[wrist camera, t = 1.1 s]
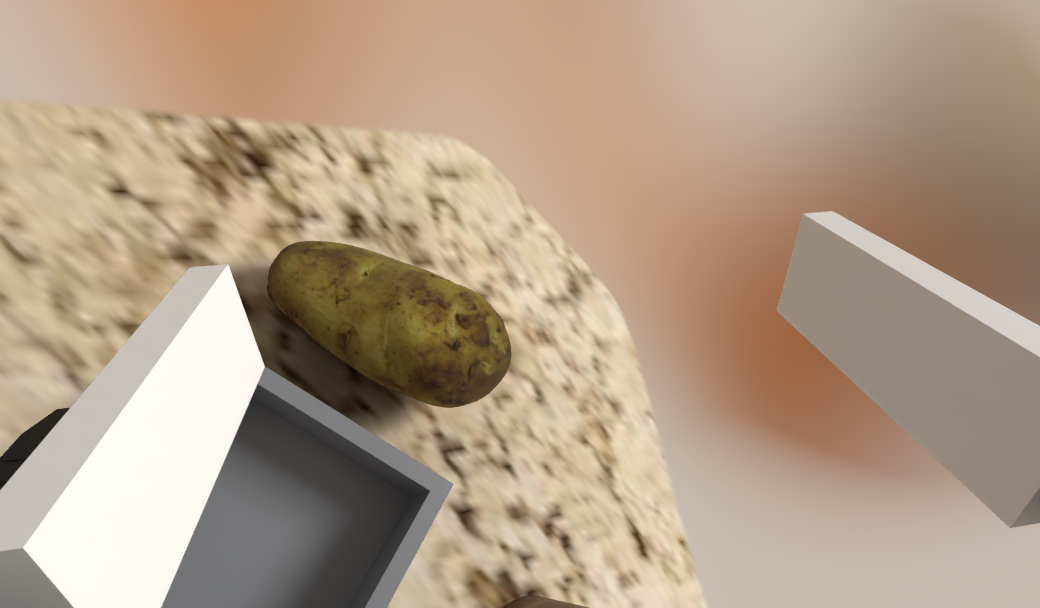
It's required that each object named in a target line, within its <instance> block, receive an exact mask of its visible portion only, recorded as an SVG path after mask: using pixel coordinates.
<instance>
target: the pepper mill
mask: <svg viewBox="0 0 1040 608" xmlns="http://www.w3.org/2000/svg"><path fill="white" fill-rule="evenodd" d="M505 608H588V607H584V606H579V605H575V604H571V603H566V602H562V601H557V600H553V599H548V598H544V597H539V596H524V597H521V598H518V599H516V600H514V601H512V602H511V603H509V604H508V605H507V606H506V607H505Z"/></svg>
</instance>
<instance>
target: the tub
mask: <svg viewBox="0 0 1040 608" xmlns="http://www.w3.org/2000/svg"><path fill="white" fill-rule="evenodd" d="M452 486H453V483H451V482H449V481H448V480H446V479H445V478H443V477H441V476H440V475H438V474H437V473H435V472H433V471H432V470H430V469H429V468H427V467H425V466H424V465H422V464H421V463H419V462H417V461H416V460H414V459H413V458H411V457H409V456H408V455H406V454H405V453H403V452H401V451H400V450H398V449H397V448H395V447H393V446H392V445H390V444H389V443H387V442H385V441H384V440H382V439H381V438H379V437H377V436H376V435H374V434H373V433H371V432H369V431H368V430H366V429H365V428H363V427H361V426H360V425H358V424H357V423H355V422H353V421H352V420H350V419H349V418H347V417H345V416H344V415H342V414H341V413H339V412H337V411H336V410H334V409H333V408H331V407H329V406H328V405H326V404H325V403H323V402H321V401H320V400H318V399H317V398H315V397H313V396H312V395H310V394H309V393H307V392H305V391H304V390H302V389H301V388H299V387H297V386H296V385H294V384H293V383H291V382H289V381H288V380H286V379H285V378H283V377H282V376H280V375H278V374H277V373H275V372H274V371H272V370H270V369H269V368H267V367H266V366H265V368H264V370H263V372H262V375H261V377H260V379H259V381H258V384H257V386H256V388H255V391H254V393H253V395H252V398H251V400H250V402H249V405H248V407H247V409H246V412H245V414H244V416H243V419H242V421H241V423H240V426H239V428H238V430H237V433H236V435H235V437H234V440H233V442H232V444H231V447H230V449H229V451H228V453H227V456H226V458H225V460H224V463H223V465H222V467H221V470H220V472H219V474H218V477H217V479H216V481H215V484H214V486H213V488H212V491H211V493H210V495H209V498H208V500H207V502H206V505H205V507H204V509H203V512H202V514H201V516H200V518H199V521H198V523H197V525H196V528H195V530H194V532H193V535H192V537H191V539H190V542H189V544H188V546H187V549H186V551H185V553H184V556H183V558H182V560H181V563H180V565H179V567H178V570H177V572H176V574H175V577H174V579H173V581H172V583H171V586H170V588H169V590H168V593H167V595H166V597H165V600H164V602H163V604H162V607H161V608H387V606H388V604H389V603H390V601H391V599H392V597H393V595H394V593H395V591H396V590H397V588H398V586H399V584H400V582H401V580H402V579H403V577H404V575H405V573H406V571H407V569H408V567H409V566H410V564H411V562H412V560H413V558H414V556H415V554H416V553H417V551H418V549H419V547H420V545H421V543H422V541H423V540H424V538H425V536H426V534H427V532H428V530H429V528H430V527H431V525H432V523H433V521H434V519H435V517H436V516H437V514H438V512H439V510H440V508H441V506H442V504H443V503H444V501H445V499H446V497H447V495H448V493H449V491H450V490H451V488H452Z"/></svg>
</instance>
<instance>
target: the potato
mask: <svg viewBox="0 0 1040 608" xmlns="http://www.w3.org/2000/svg"><path fill="white" fill-rule="evenodd" d="M267 291H268V295H269V297H270V299H271V300H272V301H273V302H274V303H275V304H276V306H277V307H278V308H279V309H280V310H281V311H282V313H283V314H284V315H285V316H287V317H289V320H290V321H293V322H294V323H295V324H296V325H298V326H300V327H301V328H303V329H304V330H305V331H306V332H307V333H308V336H309V338H310V339H311V340H312V341H313V342H315V343H316V344H318V345H319V346H320V347H321V348H322V349H324V350H327V351H328V352H331V353H332V354H334V355H335V356H336V357H338V358H339V359H340V360H342V361H343V362H345V363H346V364H347V365H348V366H351V367H353V368H354V369H356V370H357V371H359V372H360V373H362V374H363V375H365V376H367V377H368V378H370V379H371V380H373V381H375V382H377V383H379V384H381V385H383V386H385V387H387V388H390V389H393V390H396V391H398V392H401V393H403V394H405V395H408V396H410V397H412V398H414V399H417V400H419V401H422V402H424V403H427V404H430V405H434V406H439V407H447V408H453V407H459V406H463V405H466V404H470V403H472V402H475V401H478V400H479V399H481V398H483V397H484V396H486V395H488V394H489V393H490V392H491V391H492V390H493V389H494V388H495V387H496V386H497V385H498V384H499V382H500V381H501V380H502V379H503V377H504V376H505V374H506V373H507V370H508V368H509V365H510V361H511V345H510V341H509V337H508V334H507V331H506V329H505V326H504V323H503V320H502V319H501V317H500V316H499V314H498V313H497V312H496V311H495V310H494V309H493V308H492V306H491V305H490V304H489V303H488V302H487V301H486V300H485V299H484V298H483V297H481V296H480V295H479V294H477V293H476V292H474V291H472V290H470V289H468V288H466V287H463V286H461V285H457V284H455V283H453V282H451V281H450V280H447V279H445V278H443V277H441V276H438V275H436V274H434V273H432V272H429V271H427V270H424V269H421V268H418V267H415V266H412V265H409V264H406V263H403V262H400V261H398V260H395V259H393V258H390V257H387V256H384V255H382V254H379V253H376V252H373V251H369V250H366V249H363V248H359V247H355V246H351V245H346V244H341V243H334V242H323V241H304V242H298V243H294V244H291V245H289V246H287V247H286V248H284V249H283V250H282V251H281V252H280V253H279V254H278V256H277V257H276V259H275V260H274V262H273V263H272V265H271V267H270V270H269V275H268V285H267Z"/></svg>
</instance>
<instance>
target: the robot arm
mask: <svg viewBox="0 0 1040 608" xmlns="http://www.w3.org/2000/svg"><path fill="white" fill-rule="evenodd" d="M777 312H779V313H780V314H781V315H782V316H783V317H784V318H785V319H786V320H787V321H788V322H789V323H790V324H791V325H792V326H794V327H795V328H796V329H797V330H798V331H799V332H800V333H801V334H802V335H803V336H804V337H805V338H806V339H808V340H809V341H810V342H811V343H812V344H813V345H814V346H815V347H816V348H817V349H818V350H819V351H820V352H821V353H823V354H824V355H825V356H826V357H827V358H828V359H829V360H830V361H831V362H832V363H833V364H834V365H835V366H837V367H838V368H839V369H840V370H841V371H842V372H843V373H844V374H845V375H846V376H848V378H849V379H851V380H852V381H853V382H854V383H855V384H856V385H857V386H858V387H859V388H860V389H861V390H862V391H864V393H866V394H867V395H868V396H869V397H870V398H871V399H872V400H873V401H874V402H875V403H876V404H877V405H879V406H880V407H881V408H882V409H883V410H884V411H885V412H886V413H887V414H888V415H889V416H890V417H891V418H892V419H894V420H895V421H896V422H897V423H898V424H899V425H900V426H901V427H902V428H903V429H904V430H905V431H907V433H909V434H910V435H911V436H912V437H913V438H914V439H915V440H916V441H917V442H918V443H919V444H920V445H921V446H923V447H924V448H925V449H926V450H927V451H928V452H929V453H930V454H931V455H932V456H933V457H934V458H935V459H937V460H938V461H939V462H940V463H941V464H942V465H943V466H944V467H945V468H946V469H947V470H948V471H949V472H951V473H952V474H953V475H954V476H955V477H956V478H957V479H958V480H959V481H960V482H961V483H962V484H963V485H964V486H966V487H967V488H968V489H969V490H970V491H971V492H972V493H973V494H974V495H975V496H976V497H978V498H979V499H980V500H981V501H982V502H983V503H984V504H985V505H986V506H987V507H988V508H989V509H990V510H991V511H992V512H994V513H995V514H996V515H997V516H998V517H999V518H1000V519H1001V520H1002V521H1003V522H1004V523H1006V525H1008V526H1009V527H1010V528H1012V527H1018V526H1024V525H1030V524H1036V523H1040V326H1038V325H1037V324H1035V323H1033V322H1031V321H1029V320H1028V319H1026V318H1024V317H1022V316H1020V315H1019V314H1017V313H1015V312H1013V311H1011V310H1010V309H1008V308H1006V307H1004V306H1002V305H1000V304H999V303H997V302H995V301H993V300H992V299H990V298H988V297H986V296H984V295H983V294H981V293H979V292H977V291H975V290H974V289H972V288H970V287H968V286H966V285H964V284H963V283H961V282H959V281H957V280H955V279H954V278H952V277H950V276H948V275H946V274H945V273H943V272H941V271H939V270H937V269H936V268H934V267H932V266H930V265H928V264H927V263H925V262H923V261H921V260H919V259H918V258H916V257H914V256H912V255H910V254H909V253H907V252H905V251H903V250H901V249H900V248H898V247H896V246H894V245H892V244H890V243H889V242H887V241H885V240H883V239H882V238H880V237H878V236H876V235H874V234H873V233H871V232H869V231H867V230H865V229H864V228H861V227H860V226H858V225H856V224H854V223H853V222H851V221H849V220H847V219H845V218H844V217H842V216H840V215H838V214H837V213H834V212H833V211H830V212H818V213H806V214H803V216H802V219H801V223H800V227H799V231H798V234H797V238H796V242H795V246H794V249H793V253H792V257H791V260H790V264H789V268H788V271H787V276H786V279H785V283H784V286H783V290H782V294H781V297H780V301H779V305H778V309H777ZM264 368H265V366H264V363H263V361H262V358H261V355H260V352H259V349H258V347H257V344H256V341H255V338H254V335H253V333H252V330H251V327H250V324H249V321H248V319H247V316H246V313H245V310H244V307H243V305H242V302H241V299H240V296H239V293H238V290H237V288H236V285H235V282H234V279H233V276H232V274H231V271H230V268H229V265H228V264H224V265H212V266H201V267H190V268H189V269H188V270H187V271H186V273H185V274H184V275H183V276H182V277H181V278H180V280H179V281H178V282H177V283H176V284H175V285H174V287H173V288H172V289H171V290H170V291H169V293H168V294H167V295H166V296H165V297H164V298H163V300H162V301H161V302H160V303H159V304H158V305H157V307H156V308H155V309H154V310H153V311H152V313H151V314H150V315H149V316H148V317H147V318H146V320H145V321H144V322H143V323H142V324H141V325H140V327H139V328H138V329H137V330H136V331H135V333H134V334H133V335H132V336H131V337H130V338H129V340H128V341H127V342H126V343H125V344H124V345H123V347H122V348H121V349H120V350H119V351H118V352H117V354H116V355H115V356H114V357H113V358H112V360H111V361H110V362H109V363H108V364H107V365H106V367H105V368H104V369H103V370H102V371H101V372H100V374H99V375H98V376H97V377H96V378H95V380H94V381H93V382H92V383H91V384H90V385H89V387H88V388H87V389H86V390H85V391H84V392H83V394H82V395H81V396H80V397H79V398H78V400H77V401H76V402H75V403H74V404H73V405H72V407H71V408H64V409H57V410H55V411H54V412H52V413H51V414H49V415H48V416H47V417H45V418H44V419H42V420H41V421H40V422H38V423H37V424H35V425H34V426H33V427H31V428H30V429H28V430H27V431H25V432H24V433H23V434H21V435H20V437H19V438H18V439H17V440H16V441H15V442H14V443H13V444H12V445H11V446H10V448H9V449H8V450H7V451H6V452H5V453H4V454H3V455H2V456H1V457H0V608H161V607H162V604H163V602H164V600H165V597H166V595H167V593H168V590H169V588H170V586H171V583H172V581H173V579H174V577H175V574H176V572H177V570H178V567H179V565H180V563H181V560H182V558H183V556H184V553H185V551H186V549H187V546H188V544H189V542H190V539H191V537H192V535H193V532H194V530H195V528H196V525H197V523H198V521H199V518H200V516H201V514H202V512H203V509H204V507H205V505H206V502H207V500H208V498H209V495H210V493H211V491H212V488H213V486H214V484H215V481H216V479H217V477H218V474H219V472H220V470H221V467H222V465H223V463H224V460H225V458H226V456H227V453H228V451H229V449H230V447H231V444H232V442H233V440H234V437H235V435H236V433H237V430H238V428H239V426H240V423H241V421H242V419H243V416H244V414H245V412H246V409H247V407H248V405H249V402H250V400H251V398H252V395H253V393H254V391H255V388H256V386H257V384H258V381H259V379H260V377H261V375H262V372H263V370H264Z"/></svg>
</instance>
